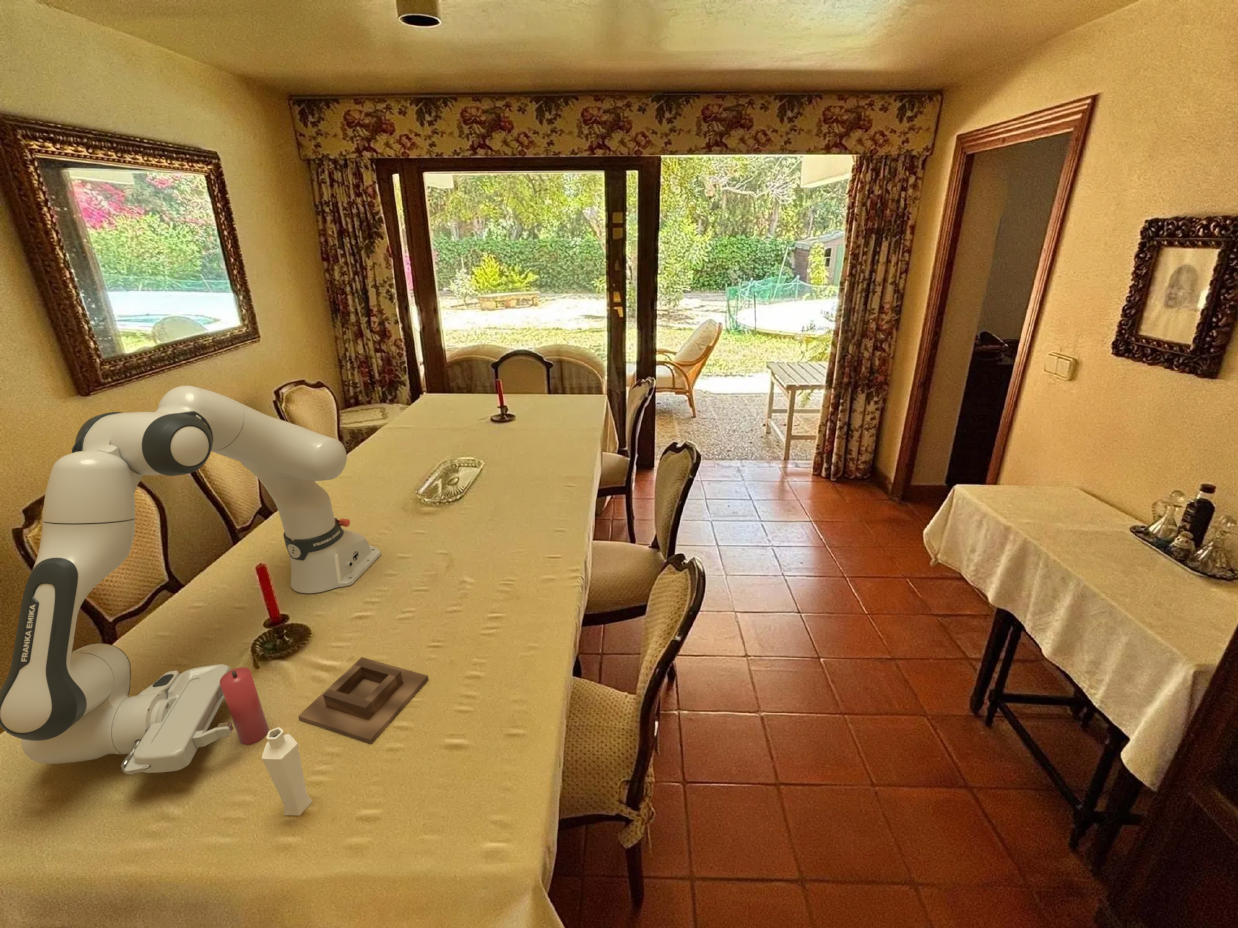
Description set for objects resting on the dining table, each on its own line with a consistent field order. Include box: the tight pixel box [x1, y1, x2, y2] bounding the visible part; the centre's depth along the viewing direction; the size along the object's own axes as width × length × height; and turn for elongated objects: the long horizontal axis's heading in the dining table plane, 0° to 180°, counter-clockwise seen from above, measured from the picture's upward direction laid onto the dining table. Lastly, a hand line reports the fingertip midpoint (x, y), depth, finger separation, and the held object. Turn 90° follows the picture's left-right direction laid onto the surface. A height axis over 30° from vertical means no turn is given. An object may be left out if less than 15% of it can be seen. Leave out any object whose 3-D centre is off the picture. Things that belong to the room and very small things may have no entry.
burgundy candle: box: [220, 666, 270, 746], centre depth 99 cm, size 4×4×14 cm
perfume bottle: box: [261, 726, 313, 816], centre depth 86 cm, size 5×4×15 cm
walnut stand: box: [297, 656, 429, 745], centre depth 108 cm, size 16×16×4 cm
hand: (241, 706), depth 99 cm, fingers open, 8 cm apart
